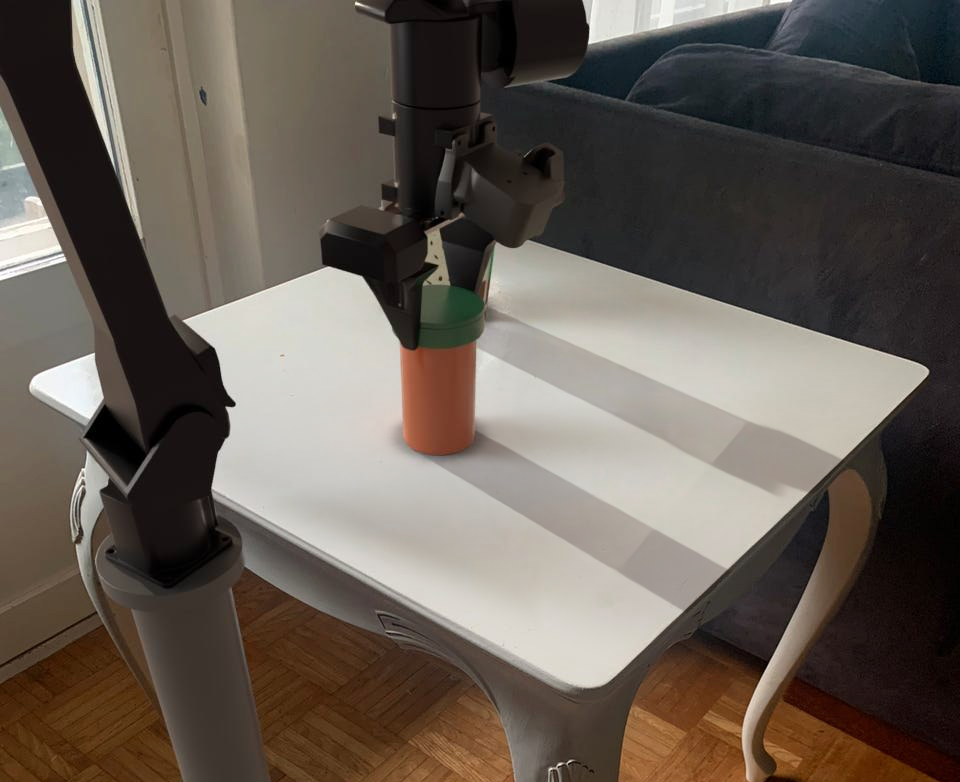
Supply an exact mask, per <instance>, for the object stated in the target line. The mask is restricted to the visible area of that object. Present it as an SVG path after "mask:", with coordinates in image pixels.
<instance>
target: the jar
mask: <svg viewBox="0 0 960 782" xmlns="http://www.w3.org/2000/svg"><path fill="white" fill-rule="evenodd" d="M477 341H478V339H477V340H475V341H474V342H472V343H469V344H466V345H463V346H460V347H454V348H446V349H432V348H423V347H418V348H417V349H416V350H414V351H411V350H408V349H405V348H403V346H402V345H401V343H400V342H399V361H400V363H399V364H400V382H401V383H400V384H401V388H400V389H401V413H402V417H401V418H402V438H403V440H404V442H405V445H407V447H409V448H411V449H412V450H414V451H416V452H419V453H421V454H424V455H425V454H426V455H433V456H445V455H446V456H447V455H453V454H456V453H460V452H462V451H464V450H466V449H467V448H469V447H470V446H471V445H472V444H473V442H474V440H475V437H476V435H475V434H476V430H475V429H476V390H477V389H476V387H477V385H476V384H477V344H478V343H477Z"/></svg>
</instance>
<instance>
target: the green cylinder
mask: <svg viewBox="0 0 960 782" xmlns="http://www.w3.org/2000/svg"><path fill="white" fill-rule="evenodd" d="M484 317H485V303H484V300H483V299H482V298H481V297H480V296H479V295H478V294H476V293H475V292H473V291H470V290H468V289H465V288H461V287H457V286H451V285H423V288H422V304H421V321H420V334H419V341H418V347H423V348H432V349H446V348H454V347H460V346H463V345H466V344H469V343H472V342H474V341H475V340H477V341H478V339H480V338H481V336H483V333H484V331H485V319H484ZM485 318H486V317H485ZM391 331H392V333H393V335H394V336H395V337H396V338H397V339H398V337H397V336H396V334H395V332H394V330H393V328H392V327H391Z"/></svg>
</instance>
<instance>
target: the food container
mask: <svg viewBox="0 0 960 782" xmlns="http://www.w3.org/2000/svg"><path fill="white" fill-rule="evenodd" d="M380 202H381V203H380V204H381V205H380V207H378V209H379V210H383V211H386V212H390V213H394V214H396V213H398V212H400V211H401V210H400V209H398V203H394V202H390V201H386V200H382V199H381V201H380ZM427 237H428V255H427V257H426V259H425V261H426V262H430V263H434V264H437V265H439V267H438V269H437V270H436V271H435V272H434V273H433V274H432V275H431V276H430V277H429V278H428V279H427V280H425V282H424V283H423V285H450V281H449V276H448V271H447V266H446V261H445V256H444V251H443V246H442V241H441V236H440V231H439V229H438V230H436V231H434V232H432V233H430V234H428V235H427ZM495 247H496V246H495ZM495 247H494V249H493V252H492V254H491V257H490V260H489V262H488V265H487V268H486V271H485V274H484V278H483V281H482V284H481V287H480V290H479V293H478V295H479V296H480V297H481V298H482V299H483V300H484V303H485V317H484V320H486V316H487V310H488V300H489V294H490V286H491V278H492V271H493V265H494V255H495V249H496V248H495Z"/></svg>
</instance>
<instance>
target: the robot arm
mask: <svg viewBox="0 0 960 782" xmlns="http://www.w3.org/2000/svg"><path fill="white" fill-rule="evenodd" d="M72 3H73V2H72V0H0V110H1V112H2V114H3V116H4V120H5V122H6V124H7V125H8V128H9V130H10V133H11V135H12V137H13V139H14V142H15V145H16V147H17V149H18V152H19V153H20V156H21V159H22V161H23V163H24V165H25V168H26V170H27V172H28V175H29V177H30V179H31V181H32V184H33V186H34V189H35V191H36V193H37V195H38V198H39V200H40V202H41V205H42V207H43V210H44V211H45V214H46V216H47V218H48V221H49V223H50V225H51V228H52V230H53V233H54V235H55V238H56V239H57V242H58V244H59V246H60V249H61V251H62V253H63V256H64V258H65V261H66V263H67V265H68V267H69V270H70V272H71V275H72V276H73V279H74V281H75V284H76V286H77V288H78V291H79V293H80V296H81V297H82V300H83V303H84V305H85V307H86V310H87V311H88V314H89V316H90V318H91V321H92V322H91V323H92V326H93V333H94V334H93V336H94V338H93V339H94V341H93V342H94V364H95V367H96V372H97V376H98V380H99V385H100V388H101V392H102V396H103V398H102V399H101V401H100V403H99V404H98V406H97V408H96V410H95V411H94V413H93V414H92V416H91V417H90V419H89V421H88V422H87V423H86V425H85V427H84V428H83V430H82V432H81V433H80V434H79V436H78V438H79V439H78V441H79V443H80V444H81V445H82V446H83V448H84V449H85V450H86V451H87V453H88V454H89V456H91V457H92V459H93V460H94V461H95V463H97V464H98V466H99V467H100V468H101V469H102V470H103V472H104V473H105V474H106V475H107V476H108V478H107V481H106V485H105V486H103V487H102V488H100V489H99V490H98V493H99V497H100V500H101V503H102V506H103V510H104V513H105V516H106V519H107V523H108V527H109V529H110V534H111V533H112V537H113V540H114V543H115V544H113V545H112V546H110V547H109V548H107V549H106V550H105V551H104V555H105V558H106V559H107V560H109V561H111V562H113V563H115V564H117V565H119V566H121V567H123V568H125V569H127V570H128V571H130V572H132V573H134V574H136V575H138V576H140V577H142V578H144V579H146V580H148V581H150V582H152V583H154V584H156V585H158V586H160V587H162V588H164V589H169V588H172V587H174V586H175V585H177V584H178V583H180V582H181V581H183V580H184V579H185V578H187V577H188V576H190V575H191V574H192V573H194V572H195V571H197V570H198V569H200V568H201V567H202V566H204V565H205V564H207V563H208V562H209V561H211V560H212V559H214V558H215V557H216V556H218V555H219V554H221V553H222V552H224V551H225V550H226V549H228V548H229V547H231V546H232V544H233V541H232V537H231V536H229V535H227V534H225V533H222V532H220V531H218V530H216V529H215V528H216V527H217V526H218V519H217V515H218V514H217V510H216V505H215V500H214V495H213V490H212V488H213V483H214V477H215V472H216V465H217V461H218V454H219V452H220V451H221V449H222V447H223V446H224V443H225V441H226V440H227V439H228V438H229V437H230V434H231V420H230V419H231V418H230V414H229V411H228V409H227V408H235V407H236V406H237V402H236V401H235V400H234V399H233V398H232V396H230V394H229V393H228V391H227V388H226V387H225V385H224V381H223V376H222V370H221V362H220V359H219V356H218V353H217V350H216V348H215V347H214V346H213V345H212V344H210V342H208V341H207V340H206V339H205V338H204V337H202V336H201V335H200V334H199V333H198V332H197V331H195V330H194V329H193V328H192V327H191V326H190V325H188V324H187V323H186V322H185V321H183V319H182V318H180V317H179V316H178V315H176V314H173V315H171V316H170V317H169V313H168V312H167V311H168V310H167V309H166V306H165V304H164V300H163V298H162V294H161V292H160V290H159V287H158V284H157V281H156V279H155V276H154V274H153V273H154V272H153V270H152V268H151V265H150V262H149V259H148V257H147V254H146V252H145V249H144V246H143V243H142V240H141V238H140V235H139V231H138V229H137V227H136V224H135V221H134V218H133V216H132V213H131V210H130V208H129V204H128V201H127V199H126V196H125V194H124V191H123V188H122V185H121V182H120V180H119V177H118V175H117V172H116V169H115V166H114V163H113V161H112V157H111V156H110V153H109V150H108V148H107V145H106V142H105V139H104V137H103V133H102V131H101V128H100V125H99V123H98V120H97V118H96V117H97V116H96V115H95V112H94V110H93V106H92V104H91V103H92V102H91V101H90V98H89V95H88V93H87V90H86V87H85V85H84V81H83V78H82V76H81V74H80V70H79V68H78V64H77V61H76V57H75V49H74V34H73V5H72ZM354 10H355V12H356V14H357V15H359V16H363V17H365V18H369V19H372V20H375V21H377V22H381V23H383V24H387V25H388V46H389V48H388V49H389V73H390V75H389V76H390V101H391V102H390V103H391V105H390V107H391V110H390V111H389V112H386V113H385V112H384V113H383V114H380V115H378V117H377V120H378V121H377V122H378V134H382V135H386V136H391V137H392V157H393V158H392V159H393V178H392V179H389V180H387V181H385V182H382V183H381V184H380V186H381V189H380V190H381V201H382V200H386V201H390V202H394V203H398V209H400V210H401V211H400V212H398V213H396V214H394V213H390V212H386V211H383V210H379V208H374V207H371V206H367V205H363V204H360V205H358V206H356V207H354V208H351V209H349V210H347V211H345V212H342V213H340V214H337V215H336V216H333V217H331V218H329V219H327V221H325V223H324V224H323V225H322V226H321V228H320V229H319V230H318V238H319V248H320V249H319V251H320V261H321V264H322V265H323V266H326V267H329V268H332V269H336V270H339V271H342V272H346V273H350V274H352V275H356V276H359V277H362V278H363V280H364V282H365V283H366V285H367V287H368V288H369V290H371V292H372V294H373V296H374V297H375V299H376V301H377V302H378V304H379V306H380V308H381V309H382V312H383V313H384V315H385V317H386V319H387V321H388V322H389V325H390V326H391V329H392V328H393V330H394V332H395V334H396V336H397V337H398V338H397V337H396V336H395V337H396V338H397V340H398V341H399V344H400V343H401V345H402V346H403V348H405V349H408V350H411V351H414V350H416V349H417V348H418V341H419V334H420V321H421V304H422V288H423V283H424V282H425V280H427V279H428V278H429V277H430V276H431V275H432V274H433V273H434V272H435V271H436V270H437V269H438V267H439V265H437V264H434V263H430V262H426V261H425V259H426V257H427V255H428V237H427V235H428V234H430V233H432V232H434V231H436V230H438V229H439V231H440V236H441V241H442V246H443V251H444V256H445V261H446V266H447V271H448V276H449V281H450V285H451V286H457V287H461V288H465V289H468V290H470V291H473V292H475V293H476V294H478V293H479V290H480V287H481V284H482V281H483V278H484V274H485V271H486V268H487V265H488V262H489V260H490V257H491V254H492V252H493V249H494V250H495V248H494V247H496V244H497V243H498V244H499V245H501V246H503V247H505V248H508V249H518V248H520V247H522V246H523V245H524V244H525V242H527V241H528V240H530V239H532V238H534V237H535V236H536V237H539V236H541V235H542V234H543V233H544V230H545V228H546V226H547V223H548V221H549V218H550V215H551V213H552V211H553V209H554V208H555V207H557V206H558V205H561V204H562V203H564V202H565V199H566V193H565V191H564V187H565V184H566V181H564V180H565V170H564V169H565V166H564V164H565V163H564V161H565V160H564V152H563V151H562V150H560V149H558V148H557V147H556V146H554V145H553V144H551V143H550V142H543V143H541V144H540V145H538V146H535V147H533V148H532V149H531V150H530V151H529V152H527V153H526V155H524V156H523V157H522V154H523V152H522V150H520V149H517V148H516V150H513V151H508V150H506V149H505V148H503V147H501V146H500V145H498V140H497V139H498V138H497V135H498V133H497V132H498V125H497V123H496V121H494V114H491V113H486V112H481V111H482V110H481V107H482V106H481V105H482V103H481V102H482V80H483V81H484V82H485V83H486V84H487V85H489V86H490V88H491V87H492V88H494V89H505V88H510V87H518V86H523V85H529V84H534V83H535V84H536V83H541V82H547V81H553V80H558V79H565V78H568V77H570V76H573V75H574V74H575V73H576V71H578V69H580V67H581V65H582V63H583V62H584V59H585V57H586V53H587V51H588V47H589V41H590V30H591V29H590V23H588V20H587V19H588V18H587V12H586V8H585V4H584V1H583V0H356V1H355V4H354ZM216 514H217V515H216Z"/></svg>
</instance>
